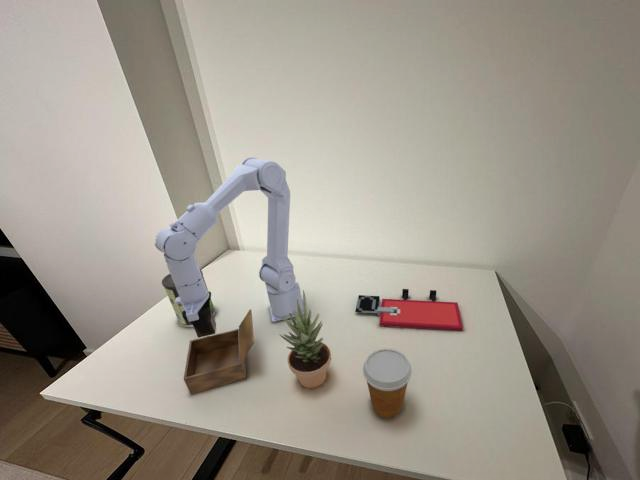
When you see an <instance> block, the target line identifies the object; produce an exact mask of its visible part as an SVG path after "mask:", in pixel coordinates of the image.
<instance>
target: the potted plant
mask: <svg viewBox="0 0 640 480" xmlns="http://www.w3.org/2000/svg"><path fill="white" fill-rule="evenodd" d="M302 300H303V308H304V315H302V312H301V308H300V305H299V302H298V299H297V309H298V315H297V313H296V311H295V310H294V315H295V317H292V315H291V314H290V313H289V315H290V317H291V318H290V320H291V321H290V320H288V319H286V318H285V317H284V316H283V318H284V320H283V321H284V322H285V324H286V325H287V327H288V328H289V329H290V330H291V331H292V332H293V333H294V334H293V333H292V332H290V331H288V332H287V333H288V334H284V333H283V335H282V334H280V333H279V336H280V338H282V339H283V340H284V341H285V342H286V343H288V344H290V345H291V346H293V347H291V346H286V348H287V349H288V350H290V351H289V353H288V355H287V365H288V368H289V370H290V371H291V373H292V374H294V375H295V376H296V378H297V380H298V381H299V383H300V384H301V386H303V387H304V388H308V389H313V388H314V389H315V388H317V387H319V386H321V385H322V384H323V383H324V382H325V380H326V377H327V371H328V368H329V366H330V364H331V362H332V352H331V349H330V347H329V346H328V345H327V344H326V343H324V342H322V341H323V340H324V337H321V338H319V339H318V340H317V338H318V335H319V333H320V331H321V329H322V327H323V322H322V321H323V320H320V321H319V322H318V319H319V318H320V312H318V313H317V315H316V316H315V318H314V320H312V309H311V308H309V311H308V308H307V297H306V292H305V290H304V289H303V290H302ZM317 322H318V324H317ZM316 324H317V325H316Z"/></svg>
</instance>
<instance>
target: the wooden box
mask: <svg viewBox="0 0 640 480" xmlns="http://www.w3.org/2000/svg"><path fill="white" fill-rule="evenodd" d="M243 380H247V367H246V356H245V357H244V359H243V360H242V362H241V361H240V346H239V328H236V329H232V330H228V331H223V332H220V333H215V334H212V335H208V336H204V337H200V338H195V339H190V340H189V344H188V349H187V356H186V362H185V368H184V374H183V381H184V383H185V385H186V388H187V389H188V392H189V394H190V395H194V394H197V393H202V392H204V391H208V390H212V389H215V388H219V387H222V386H226V385H229V384H233V383H236V382H239V381H243Z"/></svg>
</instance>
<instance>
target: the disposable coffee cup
mask: <svg viewBox="0 0 640 480" xmlns="http://www.w3.org/2000/svg"><path fill="white" fill-rule="evenodd" d="M412 373H413V368H412V365H411V363H410V361H409V359H408V357H407V356H406V354H404V353H403V352H401V351H399V350H396V349H393V348H380V349H377V350H374V351H373V352H371V353H370V354H369V355H368V356H367V357H366V359H365V361H364V363H363V365H362V374H363V378H364V379H365V381H366V384H367V389H368V393H369V397H370V401H371V406H372V410H373V411H374V413H375V414H376V415H378V416H379V417H381V418H384V419H390V418H394V417H396V416H398V415H399V414H400V413H401V411H402V409H403V405H404V399H405V396H406V393H407V388H408V383H409V381H410V379H411V378H412Z"/></svg>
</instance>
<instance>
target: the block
mask: <svg viewBox="0 0 640 480" xmlns="http://www.w3.org/2000/svg"><path fill="white" fill-rule="evenodd" d="M208 319H209V325H210V332H208V333H204V334H200V333H199V332H198V330H197V329H196V328H195V327H194V326H193V327H192V328H193V330H194V332H195V334H196V337H197V339H199V338H203V337H207V336H211V335H215V334H216V329H217V322H216V320H215V316H213V314H212V312H209V315H208Z"/></svg>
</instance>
